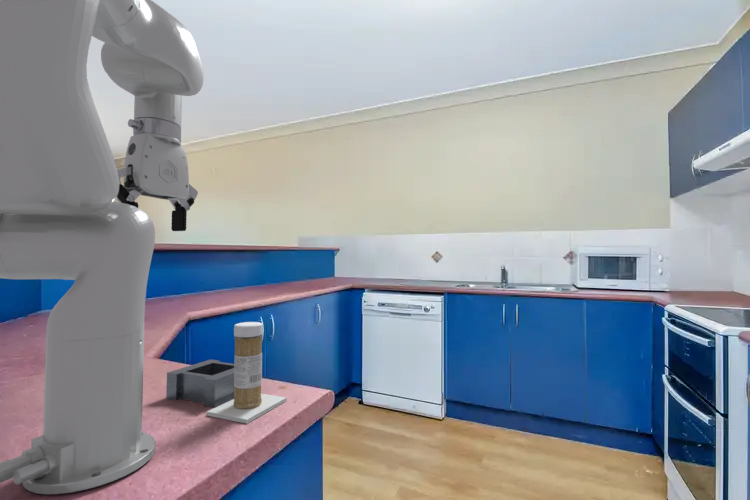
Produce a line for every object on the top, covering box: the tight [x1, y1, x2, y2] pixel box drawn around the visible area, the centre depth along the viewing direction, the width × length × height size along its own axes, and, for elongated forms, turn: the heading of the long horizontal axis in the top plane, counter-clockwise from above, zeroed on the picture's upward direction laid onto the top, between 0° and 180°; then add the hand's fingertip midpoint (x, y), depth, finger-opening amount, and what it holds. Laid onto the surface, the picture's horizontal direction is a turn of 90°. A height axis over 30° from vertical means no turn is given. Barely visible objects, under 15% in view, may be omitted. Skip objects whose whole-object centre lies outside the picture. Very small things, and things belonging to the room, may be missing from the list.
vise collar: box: [166, 358, 234, 408], centre depth 69 cm, size 10×11×4 cm
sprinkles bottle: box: [233, 321, 264, 409], centre depth 62 cm, size 5×5×13 cm
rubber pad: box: [206, 393, 287, 424], centre depth 62 cm, size 10×8×1 cm
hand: (155, 228), depth 68 cm, fingers open, 9 cm apart
